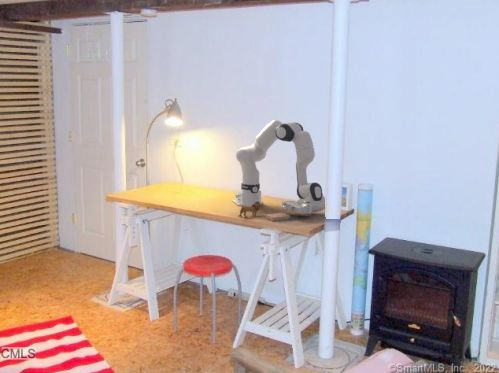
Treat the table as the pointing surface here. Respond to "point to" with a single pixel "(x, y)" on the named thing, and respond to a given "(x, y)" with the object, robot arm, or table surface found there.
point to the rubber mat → (291, 218)
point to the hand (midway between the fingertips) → (283, 208)
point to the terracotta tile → (277, 216)
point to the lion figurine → (250, 209)
